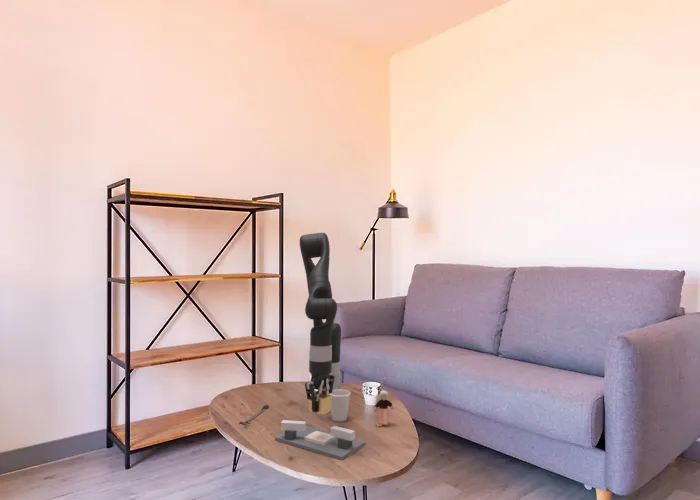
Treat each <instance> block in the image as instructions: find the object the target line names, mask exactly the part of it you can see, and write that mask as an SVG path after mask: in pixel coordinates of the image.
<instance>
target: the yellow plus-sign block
mask: <svg viewBox="0 0 700 500" xmlns="http://www.w3.org/2000/svg"><path fill="white" fill-rule="evenodd" d="M310 396H311V394H310ZM315 397H316V393H315ZM318 401H319V409H318V412H317V413H316V412H313V411H312V401H311V400H308V412H310V413H311V412H312V413H316V414H318V415H319V414H320V415H325V414H327V413H329V412H331V395H326V394H323V393H321V394H320V395H319V400H318Z"/></svg>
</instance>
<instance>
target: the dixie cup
mask: <svg viewBox="0 0 700 500" xmlns="http://www.w3.org/2000/svg"><path fill="white" fill-rule="evenodd" d="M329 395H331V411H330V414H331V420H332V421H334V422H345V421H347V418H348V413H349V404H350V398H351V397H350V396H351V391H349V390H347V389H342V388H341V389H337V390H333V391H332V393H330V394H329Z"/></svg>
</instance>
